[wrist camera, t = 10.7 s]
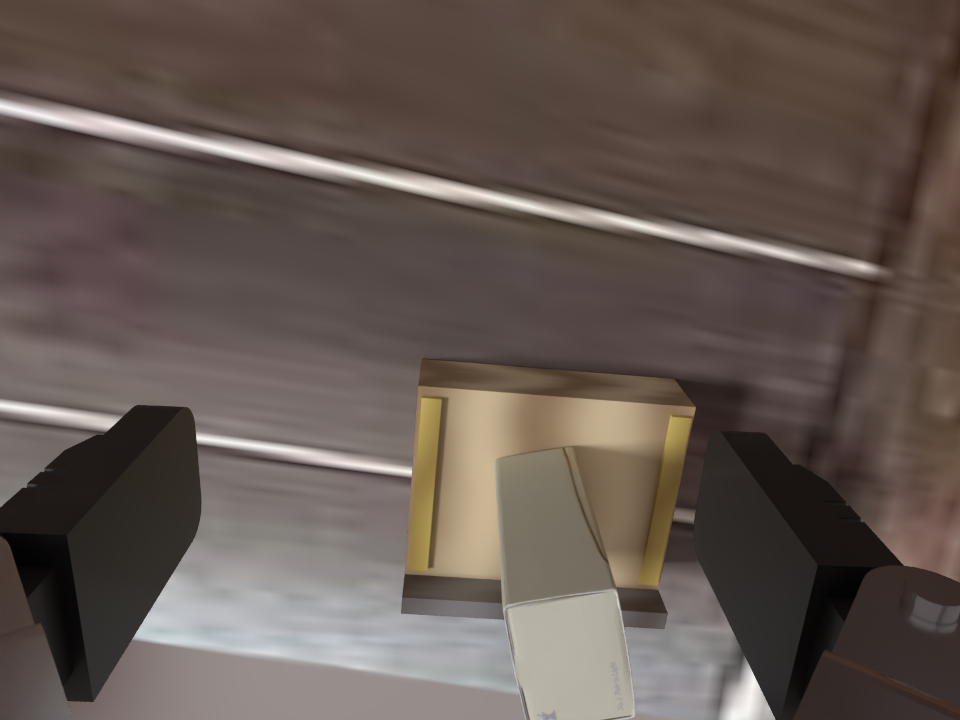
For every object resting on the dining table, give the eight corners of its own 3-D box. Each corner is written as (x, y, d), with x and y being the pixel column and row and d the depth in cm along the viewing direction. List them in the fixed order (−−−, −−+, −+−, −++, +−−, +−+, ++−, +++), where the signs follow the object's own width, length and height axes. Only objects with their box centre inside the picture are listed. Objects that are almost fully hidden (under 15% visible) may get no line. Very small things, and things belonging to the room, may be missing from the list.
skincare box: (589, 544, 40) (642, 723, 29) (507, 557, 40) (528, 741, 29) (573, 439, 38) (623, 588, 27) (487, 454, 38) (500, 608, 27)
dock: (674, 379, 41) (708, 423, 36) (638, 562, 45) (664, 629, 40) (422, 358, 41) (416, 401, 35) (408, 547, 45) (400, 613, 39)
